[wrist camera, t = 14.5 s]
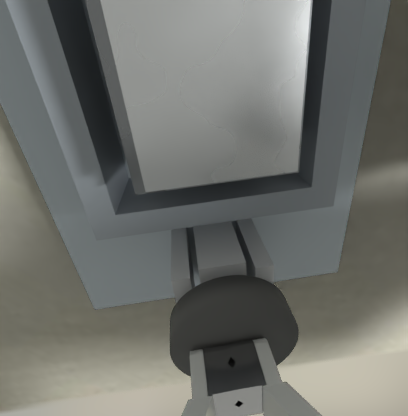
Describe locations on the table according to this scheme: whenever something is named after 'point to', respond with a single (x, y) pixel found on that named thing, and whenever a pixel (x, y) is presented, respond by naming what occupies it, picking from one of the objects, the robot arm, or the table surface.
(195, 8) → the grey rectangular block
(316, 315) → the table surface
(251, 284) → the dark grey round knob
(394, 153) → the table surface
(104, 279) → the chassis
